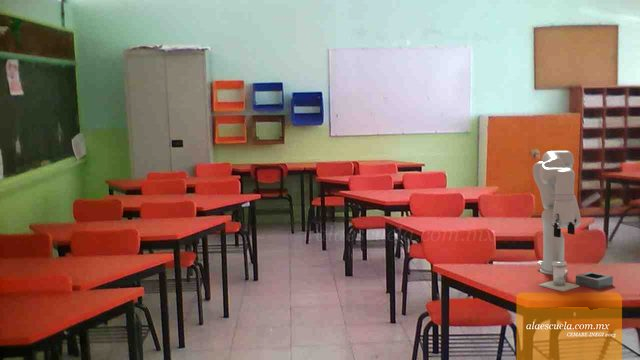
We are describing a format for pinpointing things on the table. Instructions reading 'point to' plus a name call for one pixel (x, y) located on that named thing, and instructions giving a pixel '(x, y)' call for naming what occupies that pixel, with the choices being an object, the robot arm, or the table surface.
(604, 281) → the bore housing
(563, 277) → the end cover
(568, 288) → the sage mat
